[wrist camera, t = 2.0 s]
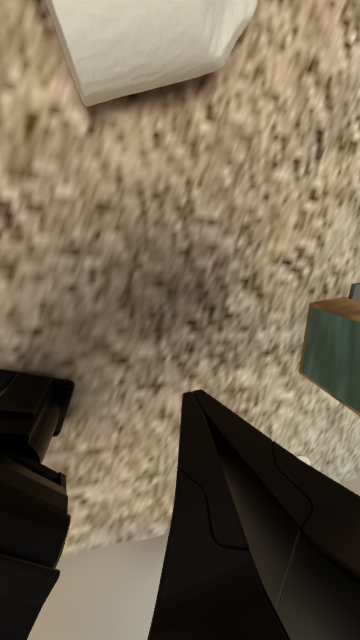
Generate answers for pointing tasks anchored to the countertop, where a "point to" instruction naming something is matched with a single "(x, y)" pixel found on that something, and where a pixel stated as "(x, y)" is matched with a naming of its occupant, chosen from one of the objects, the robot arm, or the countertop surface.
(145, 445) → the countertop surface
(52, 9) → the roll
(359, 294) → the mat
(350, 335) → the tan and teal block
